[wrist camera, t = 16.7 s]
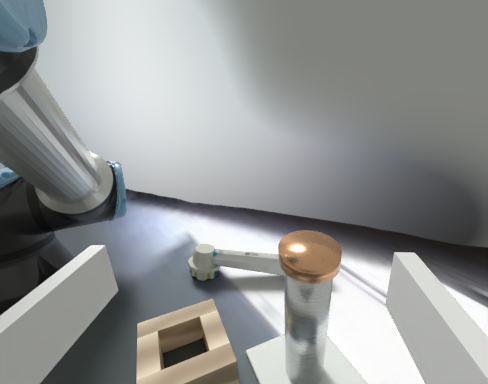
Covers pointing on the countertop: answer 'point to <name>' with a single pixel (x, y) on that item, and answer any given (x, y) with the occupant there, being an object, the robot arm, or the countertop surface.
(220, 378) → the bore block
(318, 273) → the steel plug
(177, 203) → the countertop surface
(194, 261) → the toothbrush head
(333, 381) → the rubber mat
